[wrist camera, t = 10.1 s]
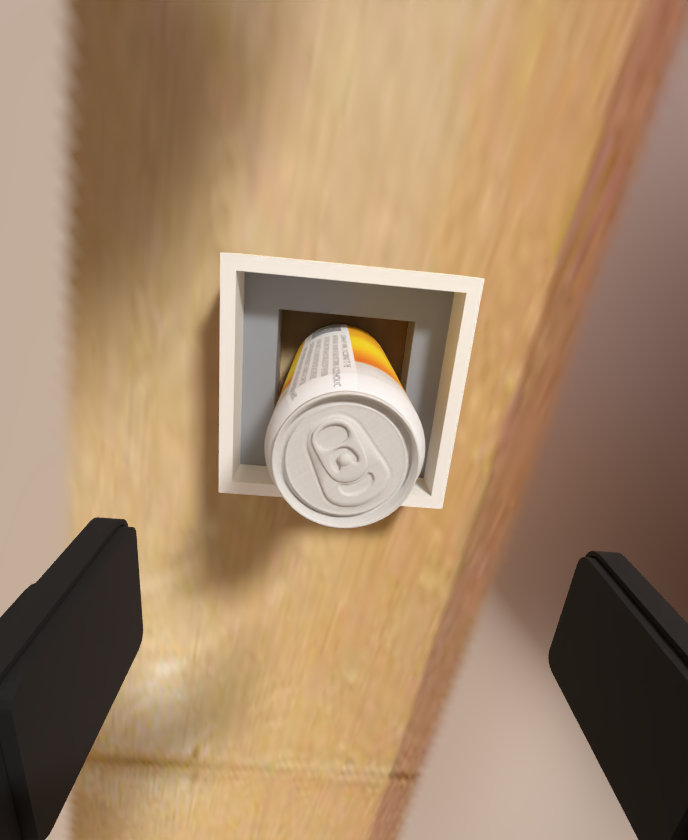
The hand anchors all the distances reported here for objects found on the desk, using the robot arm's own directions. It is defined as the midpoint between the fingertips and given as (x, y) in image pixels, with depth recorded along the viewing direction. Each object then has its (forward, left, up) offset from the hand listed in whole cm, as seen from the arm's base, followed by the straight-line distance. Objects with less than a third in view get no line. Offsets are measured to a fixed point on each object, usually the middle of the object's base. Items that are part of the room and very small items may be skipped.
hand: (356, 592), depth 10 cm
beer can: (0, 0, -22) cm, 22 cm away
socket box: (0, 0, -22) cm, 22 cm away
